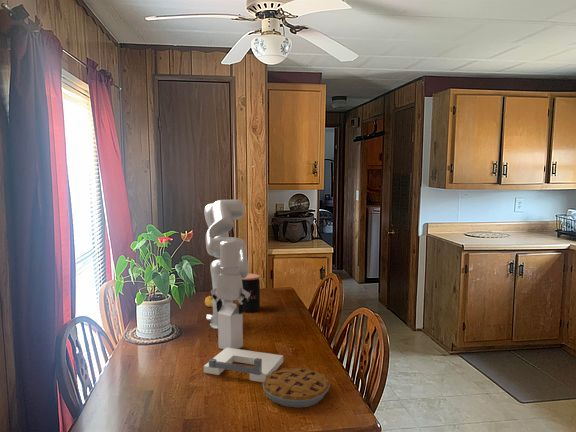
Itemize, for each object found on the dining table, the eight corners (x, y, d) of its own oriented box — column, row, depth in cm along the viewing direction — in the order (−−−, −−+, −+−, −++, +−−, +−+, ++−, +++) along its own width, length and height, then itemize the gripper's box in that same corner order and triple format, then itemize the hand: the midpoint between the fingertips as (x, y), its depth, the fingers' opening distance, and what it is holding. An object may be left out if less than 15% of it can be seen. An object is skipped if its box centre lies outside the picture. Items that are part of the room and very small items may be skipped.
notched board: (203, 372, 163) (203, 365, 162) (226, 353, 179) (226, 347, 179) (265, 382, 155) (265, 375, 155) (283, 361, 172) (283, 355, 172)
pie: (315, 417, 134) (315, 401, 133) (250, 401, 143) (250, 386, 142) (338, 385, 153) (338, 371, 153) (280, 373, 163) (280, 359, 162)
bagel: (207, 309, 237) (207, 300, 236) (202, 303, 247) (202, 295, 247) (225, 307, 241) (225, 298, 240) (220, 302, 251) (220, 293, 250)
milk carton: (230, 352, 180) (230, 306, 179) (218, 348, 185) (217, 303, 183) (243, 347, 186) (242, 302, 184) (230, 343, 190) (230, 299, 188)
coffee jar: (236, 311, 232) (235, 277, 230) (244, 305, 242) (243, 273, 241) (255, 313, 229) (255, 279, 227) (262, 307, 239) (262, 274, 237)
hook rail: (208, 367, 161) (208, 353, 161) (211, 364, 163) (211, 351, 163) (259, 375, 155) (259, 361, 155) (261, 372, 157) (261, 358, 156)
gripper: (206, 271, 181) (206, 312, 183) (245, 274, 176) (246, 317, 177) (215, 267, 188) (215, 307, 190) (253, 270, 183) (253, 311, 184)
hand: (230, 312), depth 184 cm, fingers open, 9 cm apart
